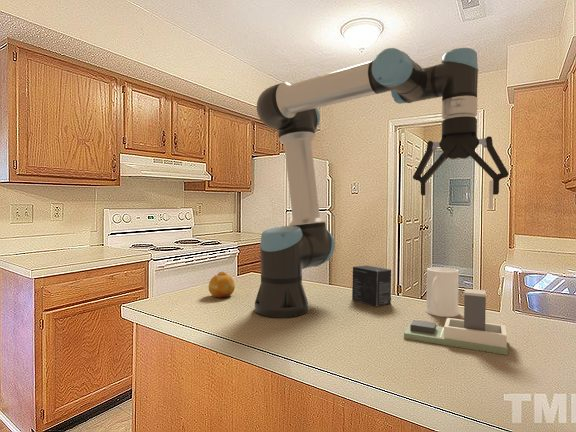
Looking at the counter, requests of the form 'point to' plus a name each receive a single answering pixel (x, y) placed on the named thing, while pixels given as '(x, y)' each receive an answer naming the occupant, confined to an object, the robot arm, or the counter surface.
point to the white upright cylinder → (442, 291)
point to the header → (476, 333)
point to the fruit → (221, 285)
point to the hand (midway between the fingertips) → (458, 209)
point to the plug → (474, 309)
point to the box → (371, 285)
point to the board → (436, 335)
